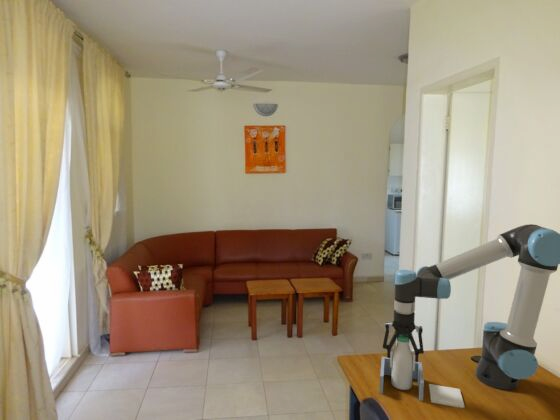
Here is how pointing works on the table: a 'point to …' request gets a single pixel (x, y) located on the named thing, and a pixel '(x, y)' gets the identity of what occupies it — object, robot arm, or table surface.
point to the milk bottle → (402, 364)
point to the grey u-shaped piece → (415, 375)
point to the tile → (446, 395)
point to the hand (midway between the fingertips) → (402, 367)
